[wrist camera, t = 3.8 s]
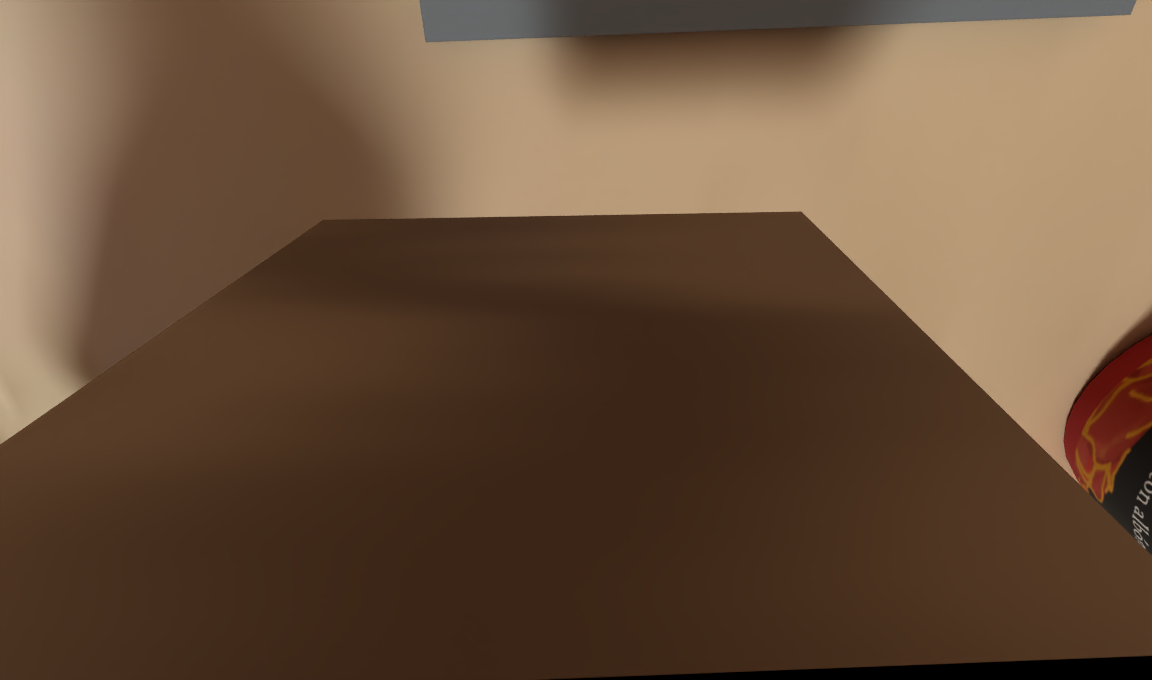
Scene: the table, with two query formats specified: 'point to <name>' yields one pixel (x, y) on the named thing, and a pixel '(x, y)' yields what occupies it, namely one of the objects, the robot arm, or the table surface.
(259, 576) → the walnut cube
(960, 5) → the slate mat
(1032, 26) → the table surface
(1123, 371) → the canned food
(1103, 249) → the table surface
